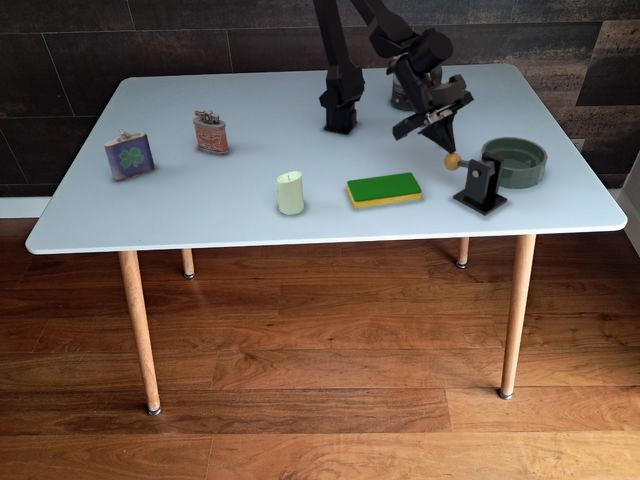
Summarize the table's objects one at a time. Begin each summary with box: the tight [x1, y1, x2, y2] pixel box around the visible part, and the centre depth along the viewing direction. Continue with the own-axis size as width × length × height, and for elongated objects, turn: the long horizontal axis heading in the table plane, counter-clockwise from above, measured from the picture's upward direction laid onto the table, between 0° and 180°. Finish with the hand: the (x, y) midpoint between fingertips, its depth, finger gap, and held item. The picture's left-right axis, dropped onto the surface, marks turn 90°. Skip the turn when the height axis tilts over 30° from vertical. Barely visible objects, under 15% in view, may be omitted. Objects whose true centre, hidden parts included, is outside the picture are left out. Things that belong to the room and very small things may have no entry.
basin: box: [478, 136, 548, 189], centre depth 123 cm, size 13×13×5 cm
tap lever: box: [443, 152, 495, 176], centre depth 115 cm, size 11×4×4 cm, turn 40°
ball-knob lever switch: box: [452, 151, 509, 217], centre depth 114 cm, size 8×7×10 cm
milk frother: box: [390, 52, 443, 111], centre depth 148 cm, size 14×16×15 cm
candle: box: [276, 171, 305, 216], centre depth 115 cm, size 5×5×8 cm
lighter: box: [192, 108, 230, 157], centre depth 133 cm, size 8×3×10 cm, turn 65°
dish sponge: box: [346, 171, 422, 210], centre depth 120 cm, size 7×14×2 cm, turn 101°
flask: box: [103, 128, 156, 182], centre depth 126 cm, size 9×3×11 cm, turn 121°
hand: (453, 152), depth 117 cm, fingers closed
